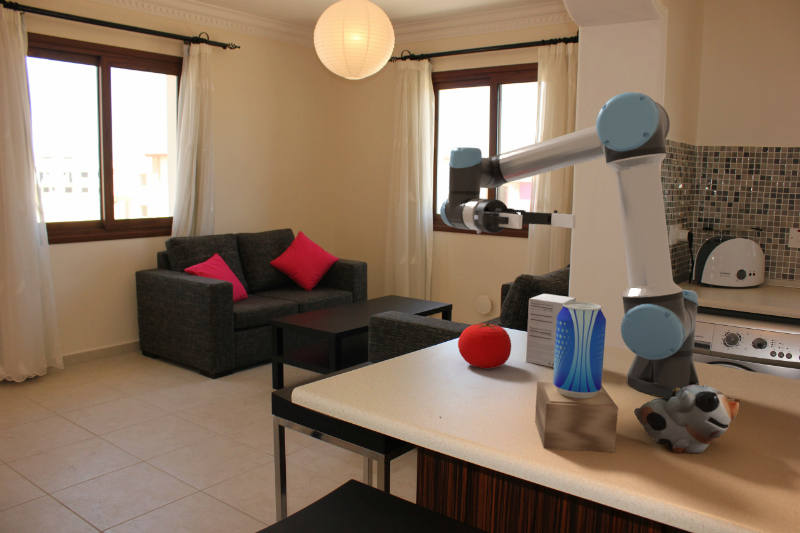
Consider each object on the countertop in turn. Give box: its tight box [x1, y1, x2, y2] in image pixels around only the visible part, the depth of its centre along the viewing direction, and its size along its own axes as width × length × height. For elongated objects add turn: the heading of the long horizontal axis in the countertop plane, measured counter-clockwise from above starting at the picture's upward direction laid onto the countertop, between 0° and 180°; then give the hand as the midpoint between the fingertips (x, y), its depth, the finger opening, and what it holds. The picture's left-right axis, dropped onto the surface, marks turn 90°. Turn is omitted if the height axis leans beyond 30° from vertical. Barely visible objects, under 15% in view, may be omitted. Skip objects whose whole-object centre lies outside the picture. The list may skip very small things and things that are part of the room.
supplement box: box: [525, 293, 577, 368], centre depth 160 cm, size 10×9×17 cm
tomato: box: [457, 322, 512, 369], centre depth 155 cm, size 12×13×11 cm
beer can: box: [552, 301, 607, 399], centre depth 111 cm, size 8×8×16 cm
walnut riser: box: [534, 381, 619, 453], centre depth 112 cm, size 12×12×8 cm
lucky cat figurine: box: [633, 384, 741, 454], centre depth 110 cm, size 15×12×14 cm
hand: (548, 221), depth 123 cm, fingers open, 13 cm apart
